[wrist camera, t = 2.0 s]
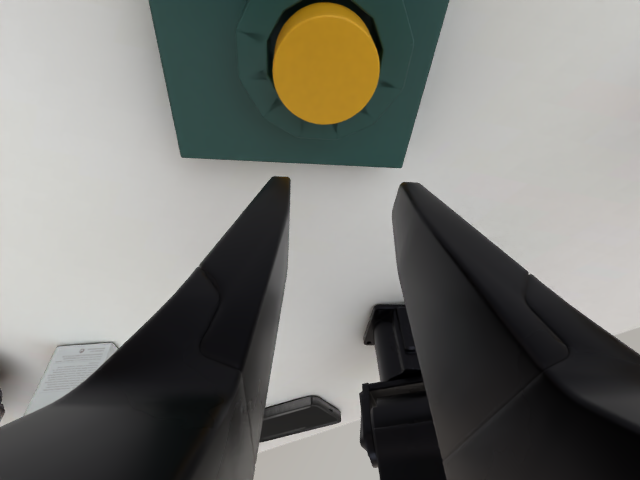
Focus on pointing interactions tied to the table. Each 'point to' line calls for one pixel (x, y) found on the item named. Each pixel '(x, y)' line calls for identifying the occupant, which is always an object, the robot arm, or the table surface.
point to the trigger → (325, 64)
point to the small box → (68, 371)
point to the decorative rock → (1, 406)
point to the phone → (297, 417)
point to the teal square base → (259, 91)
